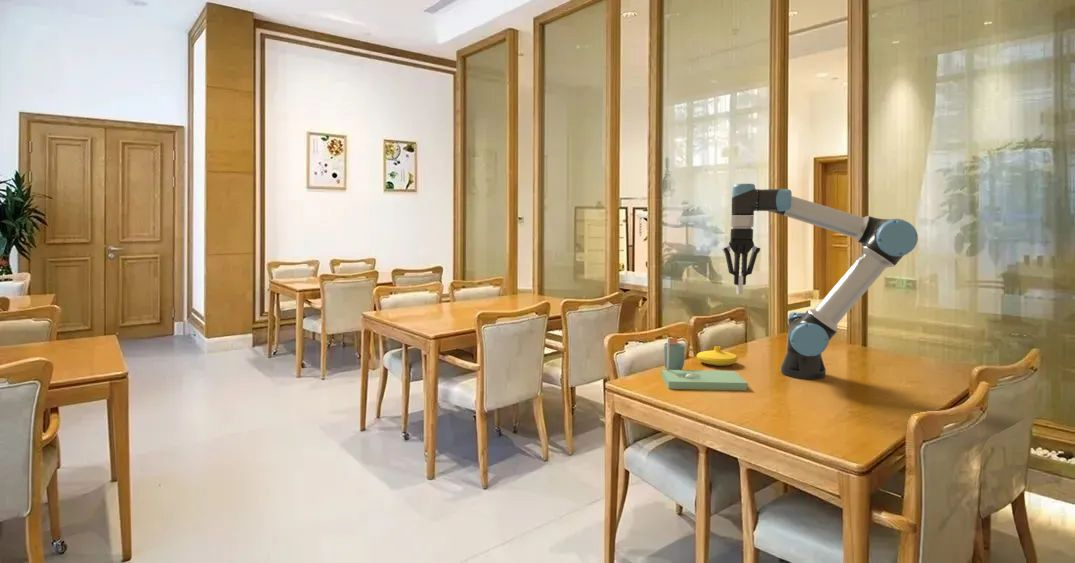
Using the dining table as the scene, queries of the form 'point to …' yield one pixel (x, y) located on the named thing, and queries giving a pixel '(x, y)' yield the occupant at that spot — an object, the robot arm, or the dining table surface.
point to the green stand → (701, 377)
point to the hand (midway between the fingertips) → (739, 294)
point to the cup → (675, 356)
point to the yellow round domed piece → (717, 357)
